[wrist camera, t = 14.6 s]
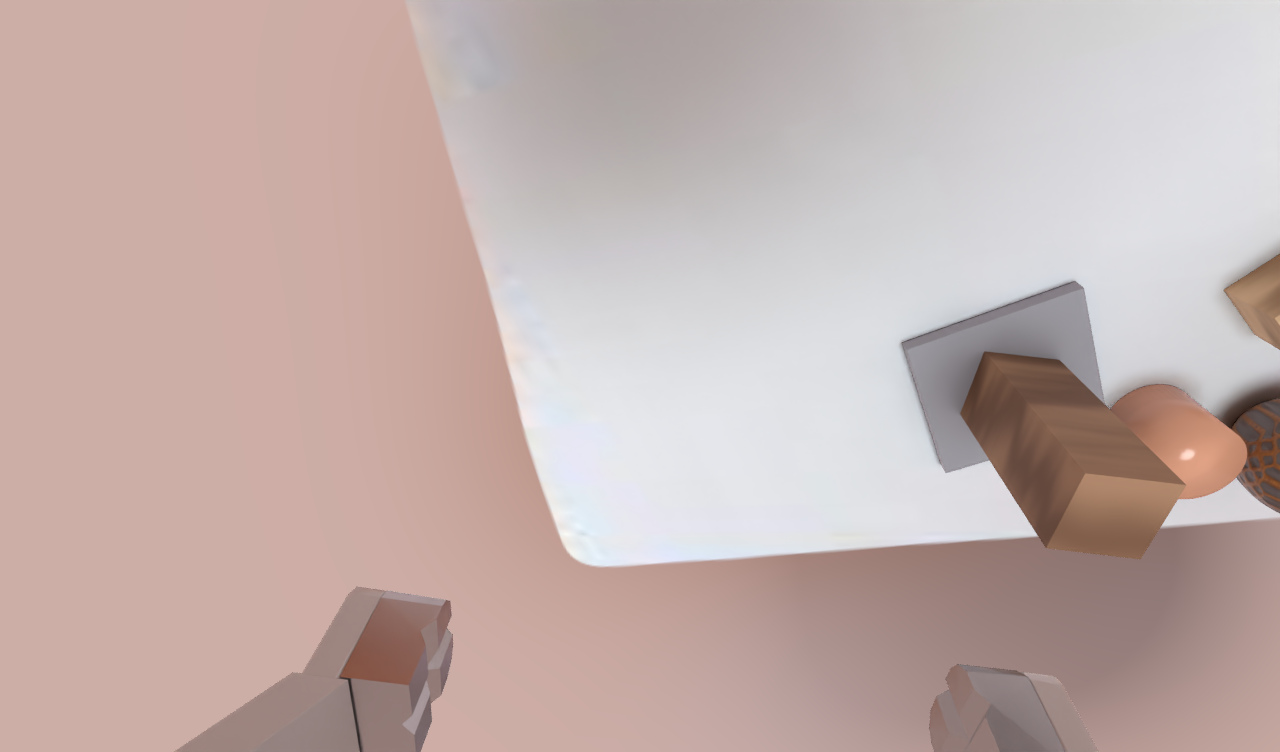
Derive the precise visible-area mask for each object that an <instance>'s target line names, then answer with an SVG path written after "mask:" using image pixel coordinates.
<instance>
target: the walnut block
mask: <svg viewBox="0 0 1280 752" xmlns="http://www.w3.org/2000/svg"><path fill="white" fill-rule="evenodd" d="M960 415H961V416H962V418H963V420H964V421H965V423H966V424H967V426H968V427H969V429H970V430H971V432H972V434H973V435H974V437H975V438H976V440H977V441H978V443H979V444H980V446H981V448H982V449H983V451H984V452H985V454H986V455H987V457H988V458H989V460H990V462H991V463H992V465H993V466H994V468H995V469H996V471H997V472H998V474H999V476H1000V477H1001V479H1002V480H1003V482H1004V483H1005V485H1006V486H1007V488H1008V490H1009V491H1010V493H1011V494H1012V496H1013V497H1014V499H1015V501H1016V502H1017V504H1018V505H1019V507H1020V508H1021V510H1022V511H1023V513H1024V515H1025V516H1026V518H1027V519H1028V521H1029V522H1030V524H1031V525H1032V527H1033V529H1034V530H1035V532H1036V533H1037V535H1038V536H1039V538H1040V539H1041V541H1042V542H1043V544H1044V546H1045V547H1046V548H1049V549H1058V550H1066V551H1075V552H1083V553H1091V554H1100V555H1108V556H1117V557H1125V558H1134V559H1141V558H1142V556H1143V554H1144V553H1145V551H1146V550H1147V548H1148V546H1149V545H1150V543H1151V541H1152V540H1153V538H1154V537H1155V535H1156V534H1157V532H1158V530H1159V529H1160V527H1161V525H1162V524H1163V522H1164V521H1165V519H1166V517H1167V516H1168V514H1169V513H1170V511H1171V509H1172V508H1173V506H1174V505H1175V503H1176V501H1177V500H1178V498H1179V497H1180V495H1181V493H1182V492H1183V490H1184V488H1185V487H1186V484H1185V483H1184V482H1183V481H1182V480H1181V479H1180V478H1179V477H1178V476H1177V475H1176V474H1175V473H1174V472H1173V471H1172V470H1171V469H1170V468H1169V467H1168V466H1167V465H1166V464H1165V463H1164V462H1163V461H1162V460H1161V459H1160V458H1159V457H1158V456H1157V455H1156V454H1154V453H1153V452H1152V451H1151V450H1150V449H1149V448H1148V447H1147V446H1146V445H1145V444H1144V443H1143V442H1142V441H1141V440H1140V439H1139V438H1138V437H1137V436H1136V435H1135V434H1134V433H1133V432H1132V431H1131V430H1130V429H1129V428H1128V427H1127V426H1126V425H1125V424H1124V423H1123V422H1122V421H1121V420H1120V419H1119V418H1118V417H1117V416H1116V415H1115V414H1114V413H1113V412H1112V411H1111V410H1110V409H1109V408H1108V407H1107V406H1106V405H1105V404H1104V403H1103V402H1102V401H1101V400H1100V399H1099V398H1098V397H1097V396H1096V395H1095V394H1094V393H1093V392H1092V391H1091V390H1090V389H1089V388H1088V387H1087V386H1086V385H1084V384H1083V383H1082V382H1081V381H1080V380H1079V379H1078V378H1077V377H1076V376H1075V375H1074V374H1073V373H1072V372H1071V371H1070V370H1069V369H1068V368H1067V367H1066V366H1065V365H1064V364H1063V363H1062V362H1061V361H1060V360H1057V359H1048V358H1039V357H1031V356H1022V355H1013V354H1005V353H996V352H987V351H984V353H983V356H982V359H981V361H980V364H979V366H978V369H977V371H976V374H975V377H974V379H973V382H972V384H971V387H970V389H969V392H968V395H967V397H966V400H965V402H964V405H963V408H962V410H961V413H960Z"/></svg>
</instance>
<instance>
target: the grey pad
mask: <svg viewBox="0 0 1280 752" xmlns="http://www.w3.org/2000/svg"><path fill="white" fill-rule="evenodd" d="M902 345H903V348H904V351H905V354H906V357H907V360H908V363H909V366H910V369H911V373H912V376H913V379H914V382H915V385H916V388H917V391H918V394H919V397H920V401H921V404H922V407H923V410H924V413H925V416H926V419H927V422H928V425H929V428H930V432H931V435H932V438H933V441H934V444H935V447H936V450H937V453H938V456H939V460H940V463H941V465H942V467H943V469H944V471H945V473H948V472H951V471H955V470H958V469H961V468H965V467H968V466H972V465H975V464H978V463H982V462H985V461H988V460H989V458H988V457H987V455H986V454H985V452H984V451H983V449H982V448H981V446H980V444H979V443H978V441H977V440H976V438H975V437H974V435H973V434H972V432H971V430H970V429H969V427H968V426H967V424H966V423H965V421H964V420H963V418H962V416H961V415H960V413H961V410H962V408H963V405H964V402H965V400H966V397H967V395H968V392H969V389H970V387H971V384H972V382H973V379H974V377H975V374H976V371H977V369H978V366H979V364H980V361H981V359H982V356H983V353H984V351H987V352H996V353H1005V354H1013V355H1022V356H1031V357H1039V358H1048V359H1057V360H1060V361H1061V362H1062V363H1063V364H1064V365H1065V366H1066V367H1067V368H1068V369H1069V370H1070V371H1071V372H1072V373H1073V374H1074V375H1075V376H1076V377H1077V378H1078V379H1079V380H1080V381H1081V382H1082V383H1083V384H1084V385H1086V386H1087V387H1088V388H1089V389H1090V390H1091V391H1092V392H1093V393H1094V394H1095V395H1096V396H1097V397H1098V398H1099V399H1100V400H1101V401H1102V402H1103V403H1104V398H1103V392H1102V386H1101V381H1100V375H1099V370H1098V364H1097V359H1096V353H1095V347H1094V342H1093V336H1092V331H1091V325H1090V319H1089V314H1088V308H1087V303H1086V297H1085V292H1084V288H1083V287H1082V286H1081V285H1079V284H1078V283H1076V282H1072V283H1070V284H1067V285H1064V286H1061V287H1058V288H1055V289H1053V290H1050V291H1047V292H1044V293H1041V294H1038V295H1036V296H1033V297H1030V298H1027V299H1024V300H1022V301H1019V302H1016V303H1013V304H1010V305H1007V306H1005V307H1002V308H999V309H996V310H993V311H991V312H988V313H985V314H982V315H979V316H976V317H974V318H971V319H968V320H965V321H962V322H959V323H957V324H954V325H951V326H948V327H945V328H943V329H940V330H937V331H934V332H931V333H928V334H926V335H923V336H920V337H917V338H914V339H911V340H909V341H906V342H903V343H902ZM1104 404H1105V403H1104Z"/></svg>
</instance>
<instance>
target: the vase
mask: <svg viewBox="0 0 1280 752" xmlns="http://www.w3.org/2000/svg"><path fill="white" fill-rule="evenodd" d="M1231 430H1232V431H1233V432H1235V433H1236V434H1237V435H1238V436H1240V437H1241V438H1242V440H1243V441H1244V443H1245V444H1246V448H1247V459H1246V463H1245V465H1244V467H1243V469H1242V470H1241V472H1240V473H1239V474H1238V476H1237V479H1238V480H1239V482H1240V483H1241V484H1242V485H1243V486H1244V487H1245V488H1246V489H1247V490H1248V491H1249V492H1250V493H1251V494H1252V495H1253V496H1254V497H1255V498H1256V499H1258V500H1259V501H1260V502H1261V503H1263V504H1264V505H1266V506H1268V507H1269V508H1271V509H1273V510H1275V511H1276V512H1278V513H1280V398H1278V399H1274V400H1270V401H1266V402H1263V403H1261V404H1258V405H1256V406H1254V407H1252V408H1251V409H1249V410H1247V411H1246V412H1245V413H1243V414H1242V415H1241V416H1240V417H1239V418H1238V419H1237V421H1236V422H1235V423H1234V425H1233V426H1232V428H1231Z"/></svg>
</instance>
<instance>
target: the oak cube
mask: <svg viewBox="0 0 1280 752" xmlns="http://www.w3.org/2000/svg"><path fill="white" fill-rule="evenodd" d="M1224 291H1225V293H1226V294H1227V296H1228V297H1229V299H1230V300H1231V301H1232V303H1233V304H1234V306H1235V307H1236V308H1237V310H1238V311H1239V313H1240V314H1241V316H1242V317H1243V318H1244V320H1245V321H1246V323H1247V324H1248V326H1249V327H1250V328H1251V330H1252V331H1253V333H1254V334H1255V335H1256V336H1258V337H1259V338H1261V339H1263V340H1264V341H1266V342H1268V343H1269V344H1271V345H1273V346H1274V347H1276V348H1278V349H1279V350H1280V254H1279V255H1277V256H1276V257H1274V258H1273V259H1271V260H1270V261H1268V262H1266V263H1265V264H1263V265H1262V266H1260V267H1259V268H1257V269H1256V270H1254V271H1252V272H1251V273H1249V274H1248V275H1246V276H1245V277H1243V278H1241V279H1240V280H1238V281H1237V282H1235V283H1234V284H1232V285H1231V286H1229V287H1227V288H1226V289H1224Z"/></svg>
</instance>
